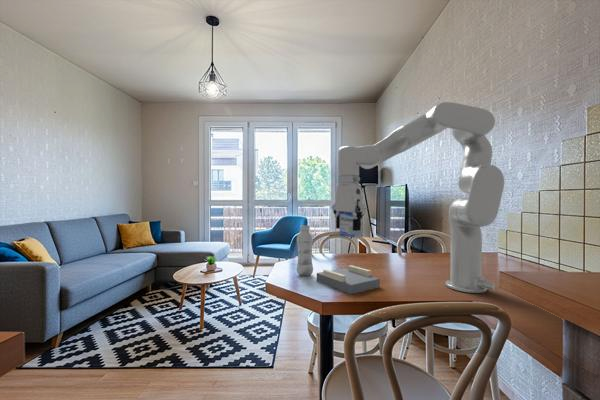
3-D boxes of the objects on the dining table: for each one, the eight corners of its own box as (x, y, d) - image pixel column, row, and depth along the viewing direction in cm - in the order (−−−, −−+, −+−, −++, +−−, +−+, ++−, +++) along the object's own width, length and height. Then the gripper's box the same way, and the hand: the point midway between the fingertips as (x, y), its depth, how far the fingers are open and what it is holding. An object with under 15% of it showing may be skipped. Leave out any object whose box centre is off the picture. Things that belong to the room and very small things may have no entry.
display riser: (379, 287, 100) (379, 272, 100) (350, 294, 92) (351, 278, 92) (343, 275, 115) (344, 263, 115) (316, 281, 107) (316, 267, 107)
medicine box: (339, 235, 106) (338, 212, 106) (347, 234, 109) (347, 212, 109) (354, 237, 100) (354, 213, 100) (363, 236, 102) (363, 212, 102)
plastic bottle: (313, 277, 111) (313, 226, 111) (296, 277, 112) (296, 226, 112) (312, 273, 118) (313, 225, 118) (296, 273, 118) (297, 225, 118)
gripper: (374, 180, 98) (373, 231, 98) (339, 182, 113) (339, 226, 113) (358, 179, 94) (358, 232, 94) (325, 181, 108) (324, 227, 108)
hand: (347, 229), depth 103 cm, fingers closed on medicine box, 8 cm apart
